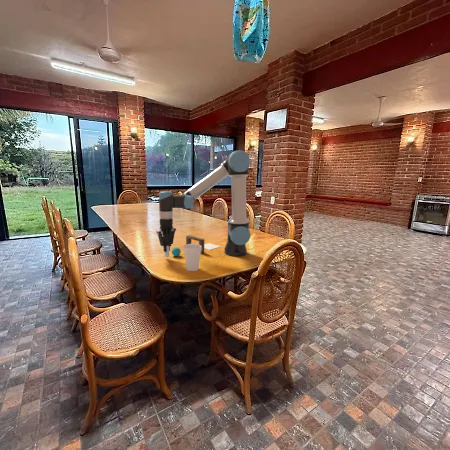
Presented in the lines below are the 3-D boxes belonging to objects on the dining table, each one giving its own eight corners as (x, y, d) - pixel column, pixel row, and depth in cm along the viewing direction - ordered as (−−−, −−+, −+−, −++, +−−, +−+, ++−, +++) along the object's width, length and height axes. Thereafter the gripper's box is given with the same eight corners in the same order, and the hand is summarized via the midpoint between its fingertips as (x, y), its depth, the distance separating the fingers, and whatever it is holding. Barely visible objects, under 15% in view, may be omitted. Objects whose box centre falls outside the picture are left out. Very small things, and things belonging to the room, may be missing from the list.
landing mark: (220, 246, 177) (220, 246, 177) (209, 250, 168) (209, 249, 168) (208, 243, 184) (208, 243, 184) (197, 246, 175) (197, 246, 175)
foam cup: (180, 270, 131) (180, 247, 128) (188, 264, 139) (189, 242, 137) (196, 273, 128) (196, 249, 125) (204, 267, 136) (204, 245, 133)
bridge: (189, 247, 171) (189, 235, 169) (204, 252, 162) (204, 239, 160) (186, 248, 169) (186, 235, 167) (200, 253, 160) (201, 240, 158)
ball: (182, 256, 154) (182, 247, 153) (175, 258, 150) (175, 249, 149) (176, 254, 157) (176, 245, 156) (170, 255, 153) (169, 247, 152)
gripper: (171, 215, 150) (171, 252, 155) (152, 218, 140) (154, 257, 145) (179, 217, 145) (179, 255, 150) (160, 220, 135) (161, 260, 140)
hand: (166, 256), depth 147 cm, fingers closed
